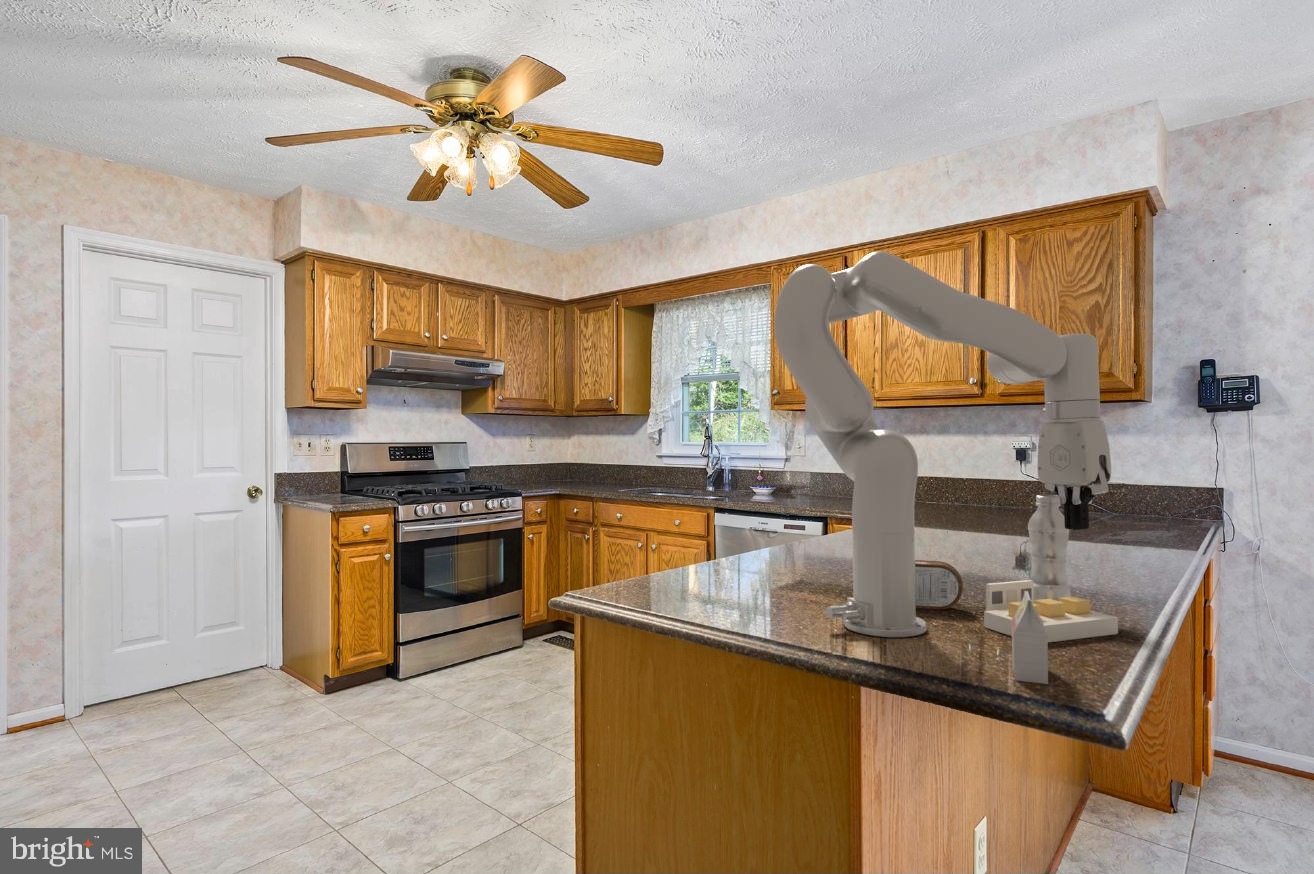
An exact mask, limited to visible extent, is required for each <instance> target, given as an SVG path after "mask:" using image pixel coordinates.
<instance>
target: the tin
mask: <svg viewBox="0 0 1314 874" xmlns="http://www.w3.org/2000/svg"><path fill="white" fill-rule="evenodd" d="M915 585H916V609H925V610H938V611H940V610H942V611H943V610H948V609H951V608H952V607H954V606H955V605H956V604H957V603H958V602H959V601H960V599H961V598H962V596H963V595H962V594H963V590H964V583H963V579H962V576H961V574H960V572H959V571H958V570H957V569H956V568H955V567H954V566H952V565H951V564H949V563H947V562H945V561H941V560H923V559H915Z"/></svg>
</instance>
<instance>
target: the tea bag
mask: <svg viewBox="0 0 1314 874" xmlns="http://www.w3.org/2000/svg"><path fill="white" fill-rule="evenodd" d="M1048 643H1049V642H1048V640H1047V633H1046V630H1045V627H1044V624H1043V622H1042V620H1041V618H1040V616H1039V615H1038V613H1037V611H1036V609H1035V607H1034V605H1033V604H1032V601H1031V599H1030V596H1029V593H1028V591H1027V592H1026V591H1024V596H1023V598H1022V601H1021V603H1020V605H1019V607H1018V609H1017V611H1016V613H1015V615H1014V616H1013V618H1012V636H1011V665H1012V672H1013V679H1014V681H1019V682H1027V683H1036V684H1045V685H1048V684H1049V660H1048V659H1049V656H1048V655H1049V652H1048V651H1049V649H1048V647H1049V646H1048Z"/></svg>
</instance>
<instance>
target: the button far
mask: <svg viewBox="0 0 1314 874" xmlns="http://www.w3.org/2000/svg"><path fill="white" fill-rule="evenodd" d="M1059 601H1060V602H1064V603H1065V613H1069V614H1073V615H1082V614H1090V610H1091V600H1090V599H1087V598H1081V597H1079V596H1078V597H1077V596H1071V597H1062V598H1059Z"/></svg>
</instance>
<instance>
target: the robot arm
mask: <svg viewBox="0 0 1314 874" xmlns="http://www.w3.org/2000/svg"><path fill="white" fill-rule="evenodd" d="M877 311H879V312H882V313H883V314H885V315H886V316H889V317H891V318H892V319H894V320H895V321H897V322H899V323H901V324H902V325H904V326H906V327H908V328H910V329H911V330H913V331H915V332H916V333H918V334H920V335H921V336H924V337H925V338H927V339H931V340H935V341H939V342H943V343H944V342H945V343H953V344H962V345H966V346H970V347H973V348H976V349H980V350H982V351H985V352H988V355H987V359H986V367H987V370H988V373H989V374H990V375H991V376H992V378H994V379H995V380H996V381H998V382H1000V383H1003V384H1008V385H1020V384H1027V383H1032V382H1037V381H1038V382H1039V381H1043V384H1044V385H1043V387H1044V408H1043V409H1042V414H1043V415H1044V417H1045V422H1042V423H1041V426H1040V428H1039V429H1040V430H1039V436H1038V445H1037V446H1038V447H1037V463H1036V464H1037V479H1038V480H1039V481H1040V482H1041V483H1043V484H1044V488H1045V490H1048V491H1050V492H1054V493H1055V494H1056V495H1058V496H1059V499H1060V504H1061V505H1062V504H1063V515H1064V522H1065V528H1066V529H1069V530H1073V531H1078V530H1079V531H1081V530H1088V529H1089V527H1090V519H1089V504H1092V503H1093V499H1094V498H1095V497H1096V496H1097V495H1100V494H1106V493H1108V492H1109V491H1110V490H1109V484H1108V483H1109V482H1110V481H1111V477H1112V461H1111V452H1110V445H1109V444H1110V443H1109V438H1108V433H1107V429H1106V425H1105V423H1104V422H1105V421H1104V420H1101V398H1100V397H1101V396H1100V372H1099V371H1100V370H1099V369H1100V368H1099V345H1098V340H1097V338H1096V337H1095V336H1094V335H1092V334H1091V333H1090V334H1089V333H1068V334H1067V333H1066V334H1060V335H1058V333H1056V331H1054V330H1052V329H1051V328H1050V327H1048V326H1047V325H1045V324H1043V323H1041V322H1039V321H1038V320H1036V319H1034V318H1032V317H1031V316H1029V315H1027V314H1026V313H1023V312H1021V311H1019V310H1017V309H1015V308H1012V307H1010V306H1007V305H1004V304H1002V303H999V302H996V301H991V300H988V299H985V298H982V297H979V296H977V295H973V294H971V293H970V294H969V293H965V292H962V291H960V290H958V289H956V288H954V287H953V286H951V285H950V284H947V283H945V282H944V281H941V280H940V279H938V278H937V277H935V276H932V274H929V273H927V272H926V271H924V270H922V269H920V268H918V267H917V266H915V265H914V264H912V263H909V262H908V261H906V260H905V259H903V258H901V257H900V256H897V255H895V254H893V253H890V252H887V251H884V250H883V251H882V250H881V251H880V250H879V251H874V252H871V253H869V254H867V255H865V256H864V257H862V258H861V259H860V260H859V261H858V262H857V263H856V264H855V265H854V266H853V267H850V268H847V269H844V270H841V271H837V272H832V273H831V272H830V271H829V270H828V269H827V268H826V267H824V266H822V265H819V264H816V263H810V264H805V265H804V264H803V265H802V266H799V267H798V268H797V269H795V270H794V271H792V272H791V274H789V276H788V277H787V279H786V280H785V282H784V283H783V286H782V287H781V289H780V290H779V293H778V295H777V299H776V306H775V313H774V336H775V343H776V346H777V349H778V352H779V354H780V356H781V359H782V361H783V362H784V365H785V366H786V368H787V370H788V371H789V372H790V375H791V376H792V377H793V379H794V380H795V382H796V384H797V385H798V387H799V388H800V390H801V391H802V393H803V394H804V396H805V402H804V403H805V404H804V410H805V415H806V418H807V420H808V421H809V422H808V423H809V424H810V426H811V427H812V429H813V430H814V432H815V434H816V435H817V437H818V438H819V439H820V441H821V442H822V444H823V446H824V447H825V448H826V449H827V451H828V453H829V454H830V456H831V457H832V459H833V460H834V461H835V463H836V464H837V466H838V467H839V468H840V470H841V471H842V472H843V473H844V475H845V476H846V477H847V478H848V479H850V480H851V481H852V482H854V483H853V490H852V491H853V492H852V503H851V504H852V506H851V529H852V587H853V588H852V589H853V591H852V593H853V594H852V595H853V596H852V597H847V598H846V600H847V601H846V602H845V603H843V604H842V605H829V606H827V607H826V609H825V611H826V612H825V613H826V616H827V618H828V619H829V620H830V619H831V620H832V619H833V620H834V619H840V618H842V620H843V626H845V628H846V629H848V630H850V631H852V632H855V633H859V634H862V635H866V636H867V635H868V636H873V637H880V638H881V637H882V638H908V637H915V636H919V635H922V634H924V633H925V632H927V622H926V621H925V620H924V619H922V618H921V617H918V616H917V608H916V585H915V560H916V535H915V534H916V533H915V532H916V530H915V503H916V501H915V500H916V489H917V481H918V475H919V474H918V473H919V462H918V456H917V452H916V450H915V448H914V446H913V444H912V443H911V442H910V441H909V439H908V438H907V437H906V436H904V435H903V434H901V433H899V432H897V431H896V430H895V431H894V430H890V429H881V428H880V427H879V425H878V424H877V422H876V421H875V419H873V417H872V415H873V411H874V400H873V397H872V394H871V392H870V390H869V389H868V387H867V386H866V384H865V383H864V382H863V381H862V379H861V378H860V376H859V375H858V374H857V372H856V371H855V370H854V368H853V367H852V366H851V364H850V362H849V361H848V360H847V358H846V357H845V355H844V353H843V352H842V351H841V349H840V348H839V345H838V344H837V342H836V340H835V339H834V337H833V335H832V331H831V330H830V324H832V323H833V324H834V323H836V322H842V321H845V320H846V321H847V320H851V319H855V318H858V317H862V316H866V315H869V314H872V313H875V312H877Z"/></svg>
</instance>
